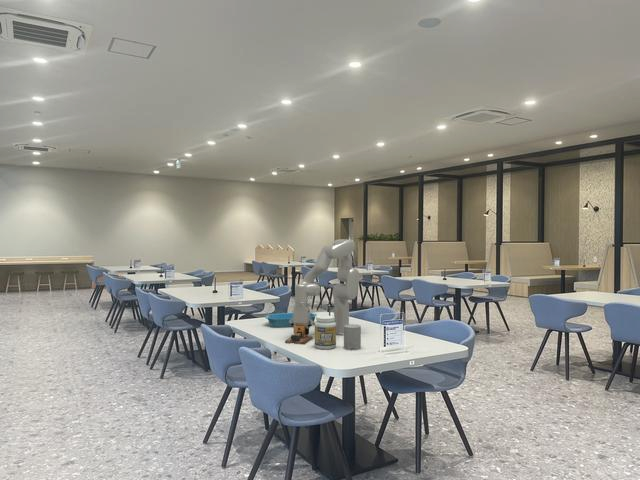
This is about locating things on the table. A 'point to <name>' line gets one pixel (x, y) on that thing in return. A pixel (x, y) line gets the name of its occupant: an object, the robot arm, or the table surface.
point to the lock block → (300, 329)
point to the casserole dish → (283, 319)
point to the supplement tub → (325, 332)
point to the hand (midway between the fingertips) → (301, 334)
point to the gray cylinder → (352, 337)
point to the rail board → (303, 340)
